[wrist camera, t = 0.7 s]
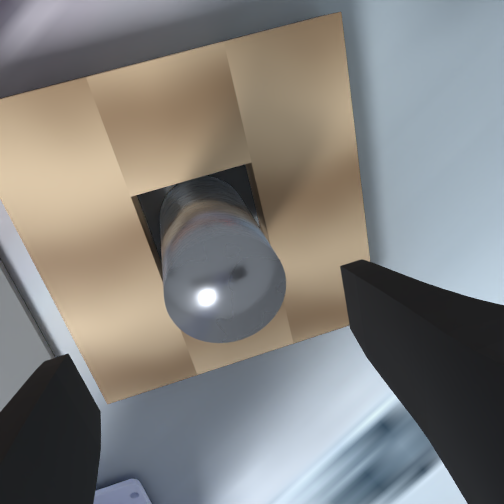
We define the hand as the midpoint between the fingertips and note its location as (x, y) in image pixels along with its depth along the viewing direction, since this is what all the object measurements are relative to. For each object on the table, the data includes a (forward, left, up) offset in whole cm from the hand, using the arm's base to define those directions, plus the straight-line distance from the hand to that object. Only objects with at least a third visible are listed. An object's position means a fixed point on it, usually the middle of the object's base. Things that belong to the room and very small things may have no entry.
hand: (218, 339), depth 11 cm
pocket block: (0, -1, -10) cm, 10 cm away
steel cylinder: (0, -1, -10) cm, 10 cm away
